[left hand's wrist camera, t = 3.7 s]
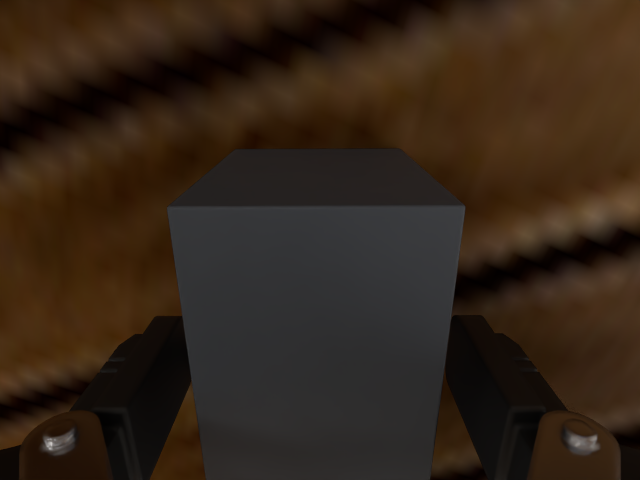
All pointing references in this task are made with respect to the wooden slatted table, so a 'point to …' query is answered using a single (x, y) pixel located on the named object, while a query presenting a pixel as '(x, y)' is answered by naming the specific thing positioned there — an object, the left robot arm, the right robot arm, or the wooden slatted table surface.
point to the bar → (317, 312)
